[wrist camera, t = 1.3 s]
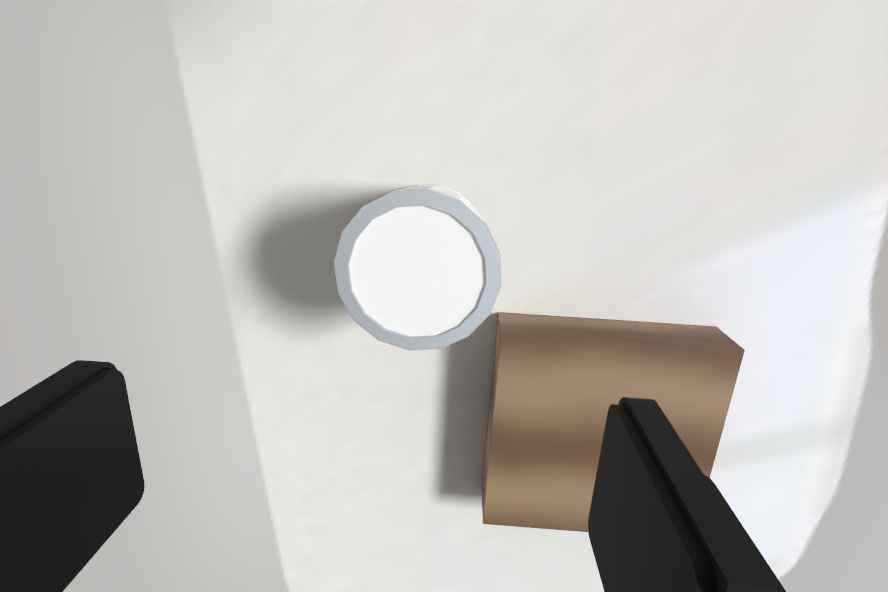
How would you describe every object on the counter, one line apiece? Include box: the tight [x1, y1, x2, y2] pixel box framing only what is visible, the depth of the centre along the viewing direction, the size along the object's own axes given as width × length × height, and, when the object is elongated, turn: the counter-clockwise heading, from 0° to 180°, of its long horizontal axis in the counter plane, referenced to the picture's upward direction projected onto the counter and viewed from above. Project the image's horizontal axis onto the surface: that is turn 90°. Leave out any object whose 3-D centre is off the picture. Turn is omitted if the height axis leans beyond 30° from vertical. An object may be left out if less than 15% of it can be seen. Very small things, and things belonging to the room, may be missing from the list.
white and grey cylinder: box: [334, 184, 501, 350], centre depth 24 cm, size 7×7×7 cm
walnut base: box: [482, 312, 744, 532], centre depth 28 cm, size 12×12×3 cm
